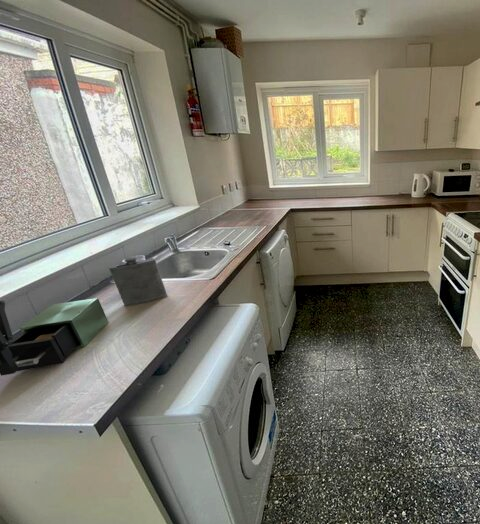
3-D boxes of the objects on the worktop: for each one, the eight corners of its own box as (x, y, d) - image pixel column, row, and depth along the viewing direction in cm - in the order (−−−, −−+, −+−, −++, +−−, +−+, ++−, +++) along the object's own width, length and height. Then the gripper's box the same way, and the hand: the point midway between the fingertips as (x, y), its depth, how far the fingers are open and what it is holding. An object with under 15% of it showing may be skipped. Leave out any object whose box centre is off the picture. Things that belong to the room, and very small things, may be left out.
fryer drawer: (52, 374, 75) (38, 350, 72) (-1, 384, 72) (-18, 359, 69) (89, 336, 90) (79, 315, 87) (47, 343, 88) (35, 321, 85)
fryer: (84, 346, 86) (71, 320, 83) (35, 355, 84) (19, 327, 80) (108, 322, 99) (98, 297, 95) (66, 328, 96) (53, 304, 92)
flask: (166, 297, 113) (152, 255, 106) (123, 307, 107) (104, 263, 101) (167, 294, 116) (153, 252, 109) (125, 303, 111) (107, 260, 104)
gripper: (-38, 276, 66) (14, 357, 75) (-106, 304, 54) (-35, 396, 63) (2, 271, 67) (47, 352, 76) (-57, 297, 56) (5, 389, 65)
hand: (10, 372), depth 70 cm, fingers closed
